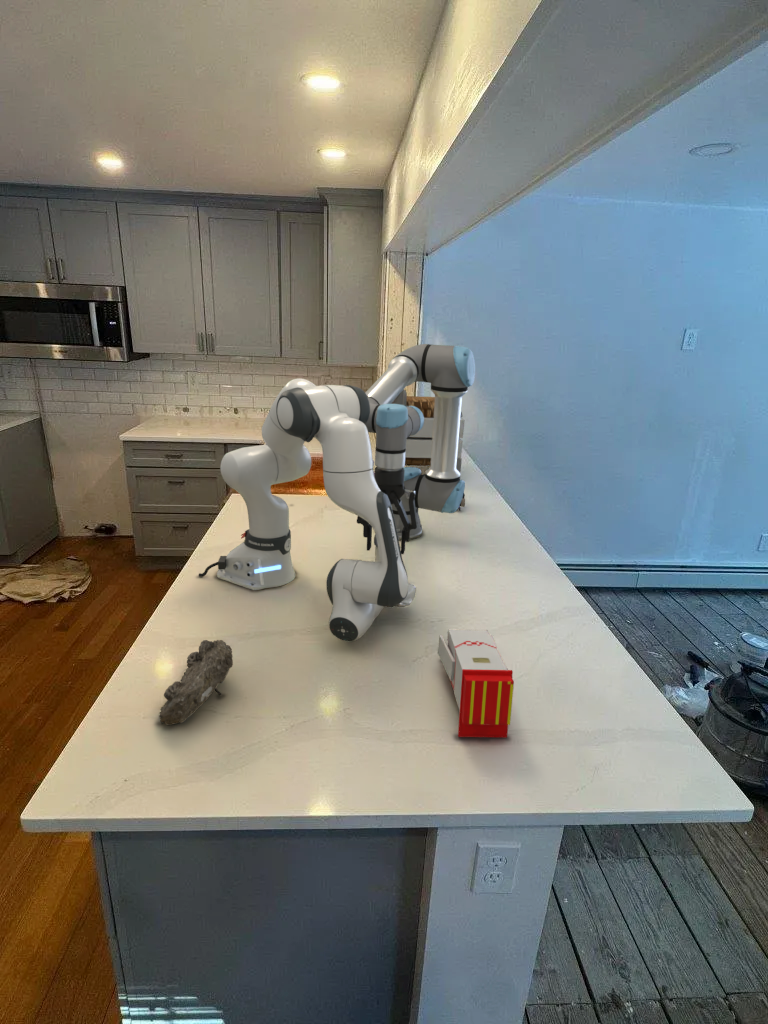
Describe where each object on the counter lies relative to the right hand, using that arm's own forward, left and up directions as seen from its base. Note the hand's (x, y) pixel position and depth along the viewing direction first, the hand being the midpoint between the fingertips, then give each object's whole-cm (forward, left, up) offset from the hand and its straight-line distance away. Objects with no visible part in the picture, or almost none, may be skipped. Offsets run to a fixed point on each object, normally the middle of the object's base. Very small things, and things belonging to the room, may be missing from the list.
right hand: (385, 550), depth 149 cm
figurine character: (-42, +74, -15) cm, 86 cm away
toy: (+41, -11, -15) cm, 45 cm away
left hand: (-1, +1, -8) cm, 8 cm away
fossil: (+8, -55, -15) cm, 58 cm away
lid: (0, 0, +4) cm, 4 cm away
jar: (0, 0, -15) cm, 15 cm away
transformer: (-86, +96, -15) cm, 130 cm away
